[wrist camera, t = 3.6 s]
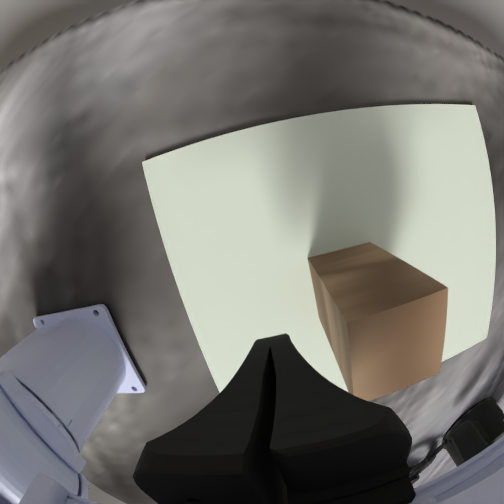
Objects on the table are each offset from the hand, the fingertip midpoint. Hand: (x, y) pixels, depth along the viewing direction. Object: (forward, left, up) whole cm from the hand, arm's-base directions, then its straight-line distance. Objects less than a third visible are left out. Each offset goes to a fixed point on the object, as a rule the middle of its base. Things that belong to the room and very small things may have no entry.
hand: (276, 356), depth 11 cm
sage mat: (+7, 0, -6) cm, 9 cm away
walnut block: (+5, 0, -6) cm, 8 cm away
